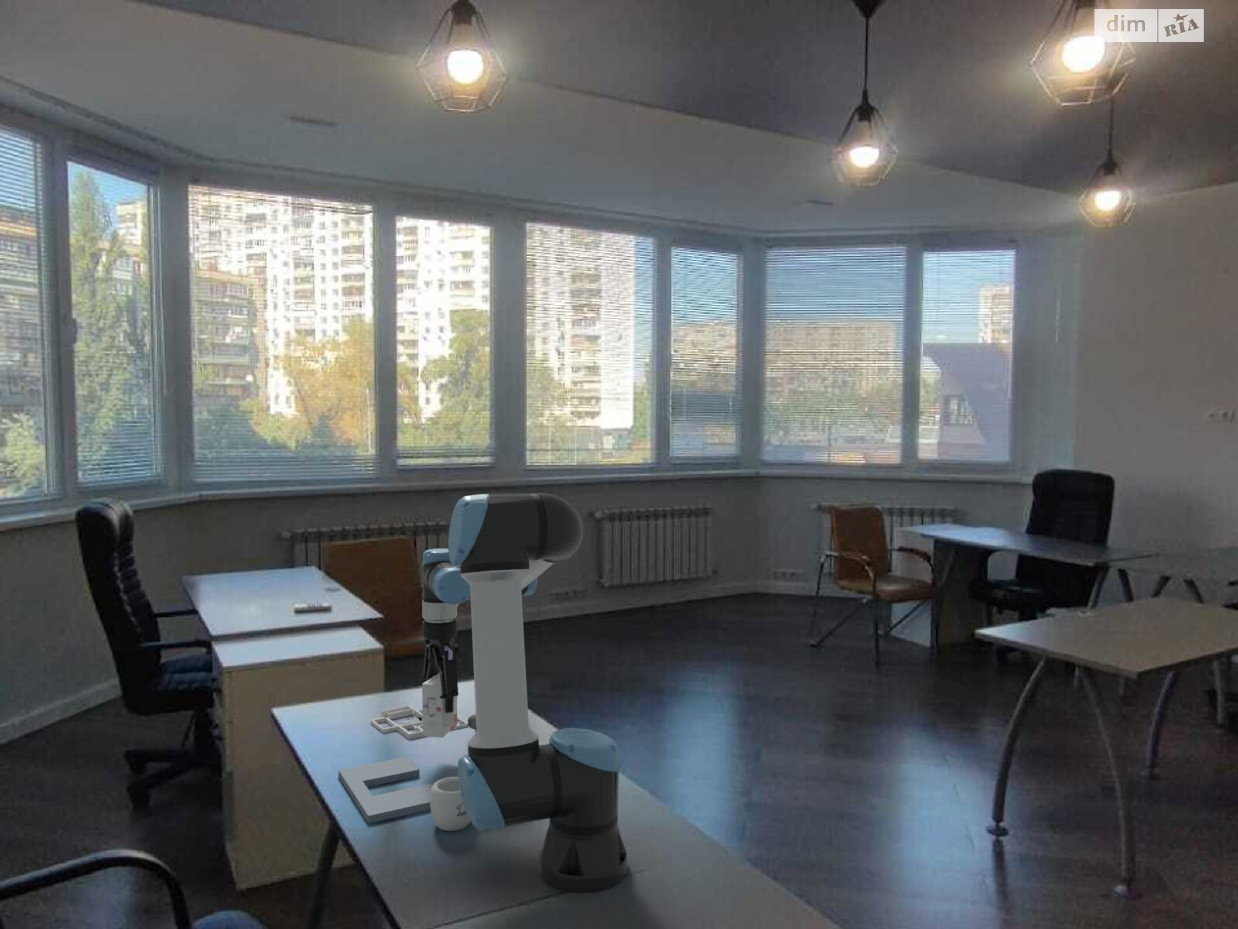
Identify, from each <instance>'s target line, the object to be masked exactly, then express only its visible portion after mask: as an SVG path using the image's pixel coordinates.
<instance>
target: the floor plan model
mask: <svg viewBox="0 0 1238 929" xmlns="http://www.w3.org/2000/svg"><path fill="white" fill-rule="evenodd" d="M380 711H381V713H380V715H381V717H378V718H372V719H370V725H372V726H373V727H374V728H376V729H377V730H378V729H379V730H378V731H380V732H381V734H382V733H383V734H386V733H387V732H388V733H392V732H395V731H396V732H398V733H399V734H401V735H402V736H404V737H405V738H407V739H408V740H409V741H410V740H413V739H417V738H422V737H424V736H423V709H421V710H417V709H414V708H413V707H412V706H410V705H404V706H400V707H398V706H397V707H395V708H394V707H393V708H390V709H385V710H384V709H383V710H380ZM413 715H414V716H415V717H416V718H418V719H419V721H416V722H410V720H411V719H415V718H414V717H413ZM404 717H406V719H407V720H406V721H402V722H401V723H402V725H401V724H397V723H396V722H394V721H393V720H394V719H400V718H404ZM384 722H385V723H386V724H388V725H389V727H385V728H384V726H382V725H381V724H380V723H384ZM409 722H410V723H409ZM457 722H459V724H457V725H456V726H455V727H454V728H453V729H452V730H451V731H454V730H457V729H463V728H466V727H469V726H468V721H465V720H464V719H462V718H461V717H459V716H457ZM411 729H412V730H413V731H414V732H410V731H409V730H411Z"/></svg>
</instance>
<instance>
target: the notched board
mask: <svg viewBox="0 0 1238 929" xmlns="http://www.w3.org/2000/svg"><path fill="white" fill-rule="evenodd" d="M419 777H420V768H419V767H418V766H417V765H416V764H415V763H414V762H413V761H412V759H411V758H410V757H409V756H404V757H399V758H394V759H388V760H382V761H378V762H372V763H367V764H361V765H357V766H352V767H347V768H342V769H338V779H339V780H340V782H341V783H342V785H343V786H344V788H345V789H346V791H347V793H348V794H349V796H350V798H351V799H352V800H353V802H354V804H355V805H356V806H357V808H358V809H359V812H360V813H361V814H362V816H363V818H365V821H366V822H367V824H373V823H377V822H381V821H385V820H390V819H394V818H398V817H404V816H408V815H413V814H417V813H421V812H426V811H429V810H430V811H431V807H430V795H431V789H432V787H433V785H434V783H429V784H428V783H427V784H423V785H419V786H418V785H417V786H413V787H409V788H405V789H400V790H396V791H395V790H394V791H391V792H385V793H381V794H377V795H373V794H372V793H371V791H370V789H369V787H374V786H379V785H384V784H389V783H394V781H395V782H399V781H398V780H400V781H403V780H410V779H413V778H419ZM407 814H408V815H407Z"/></svg>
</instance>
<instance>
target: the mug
mask: <svg viewBox="0 0 1238 929" xmlns="http://www.w3.org/2000/svg"><path fill="white" fill-rule="evenodd" d="M430 807H431V809H430V812H431V816H432V820H433V823H434V824H435V826H436V827H437V828H438V829H440V830H442V831H447V832H453V831H454V832H455V831H459V830H460V831H461V830H462V829H464V828H467V827H468V826H469V824H470V823H471V821H470V819H469V817H468V815H467V813H466V810H465V807H464V804H463V800H462V796H461V792H460V786H459V780H458V776H449V777H444V778H441V779H438V780H437V781H435V782H434V783H433V787H432V789H431V795H430Z"/></svg>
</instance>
